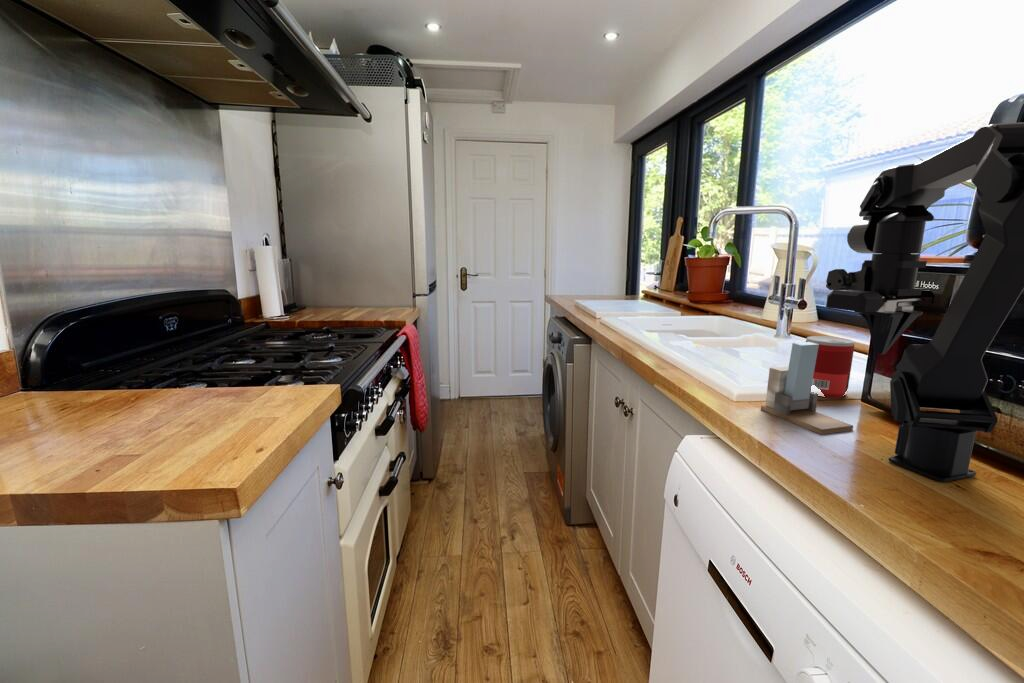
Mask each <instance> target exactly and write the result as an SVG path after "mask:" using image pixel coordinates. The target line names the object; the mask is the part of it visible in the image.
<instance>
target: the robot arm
mask: <svg viewBox="0 0 1024 683" xmlns="http://www.w3.org/2000/svg"><path fill="white" fill-rule="evenodd" d="M970 180H971V183H972V184H973V186H975V188H976V189H977V190H978V192H980V194H982V198H981V201H980V204H979V206H978V212H979V216H980V219H981V223H982V226H983V229H984V232H985V233H984V234H985V235H984V237H983V240H982V241H981V244H980V245H979V247H978V249H977V251H976V253H975V255H974V257H973V259H972V261H971V263H970V264H969V266H968V269H967V271H966V272H965V274H964V276H963V278H962V279H961V280H962V281H961V282H960V284H959V286H958V288H957V291H955V294H954V296H953V297H952V299H951V304H950V306H949V307H948V308H946V309H947V310H946V312H945V313H944V316H943V318H942V319H941V321H940V322H939V325H938V327H937V329H936V331H935V333H934V334H933V337H932V338H931V340H930V341H929V342H928V343H926V344H918V343H915V344H914V343H913V344H912V343H910V344H909V345H908V346H907V347H906V348H904V351H903V354H902V357H901V359H900V360H899V362H898V363H897V364H896V366H895V369H896V371H895V372H894V373H893V375H892V376H891V380H890V381H889V386H890V389H889V390H890V392H889V394H890V411H891V416H893V421H895V422H897V423H902V425H899V426H898V430H897V435H896V441H895V442H896V443H895V448H894V455H891V456H888V459H887V460H888V462H890V463H894V464H896V465H897V466H901V467H903V468H905V469H908V470H911V471H913V472H915V473H918V474H920V475H923V476H925V477H927V478H930V479H933V480H935V481H937V482H942V483H945V482H950V481H956V480H961V479H967V478H971V477H976V475H977V472H976V471H975V470H973V469H970V465H971V464H970V463H971V458H972V454H973V448H974V443H975V438H976V434H977V432H984V433H987V434H991V433H992V432H993V430H994V429H995V426H996V425H997V423H998V422H999V420H998V417H997V414H996V412H995V410H994V407H993V406H992V403H991V401H990V398H989V396H988V394H987V392H986V389H985V388H986V386H987V384H988V381H989V376H988V374H987V371H986V369H985V368H986V367H985V366H984V363H983V357H984V356H985V354H986V352H987V350H988V348H989V347H990V346H991V344H992V342H993V341H994V339H995V337H996V336H997V334H998V332H999V331H1000V328H1001V327H1002V325H1003V324H1004V322H1005V321H1006V320H1007V317H1008V316H1009V314H1010V313H1011V311H1012V309H1013V307H1014V306H1015V304H1016V303H1017V301H1018V299H1019V298H1020V296H1021V295H1022V293H1023V291H1024V122H1021V121H1020V122H1004V123H1003V122H1002V123H1000V122H999V123H991V124H989V125H986V126H983V127H980V128H979V129H978V130H976V131H975V133H974V134H973V135H971V136H969V137H967V138H966V139H964V140H962V141H959V142H958V143H955V144H954V145H952V146H950V147H947V148H946V149H944V150H942V151H940V152H939V153H936V154H934V155H932V156H930V157H929V158H927V159H925V160H922V161H921V162H916V163H910V164H909V163H908V164H903V165H895V166H891V167H887V168H885V169H884V170H883V171H881V173H880V174H879V175H878V176H877V177H876V178H875V179H874V181H873V184H872V185H871V186H870V188H869V190H868V192H867V193H866V195H865V196H864V199H863V200H862V202H861V203H860V205H859V209H860V211H859V214H858V216H859V217H861V218H862V220H861V221H858V222H857V223H854V225H853V226H852V227H851V228H850V229H849V231H848V232H847V237H846V241H847V244H848V246H849V248H850V250H853V251H854V252H856V253H859V254H872V255H871V259H866V260H865V259H864V261H863V263H861V269H860V270H858V271H849V272H847V270H845V268H835V269H832V270H829V271H828V272H827V277H826V281H825V282H826V284H825V286H826V287H825V288H827V289H828V290H829V291H831V292H830V293H829V294H827V296H826V304H825V308H828V309H836V310H843V311H850V312H854V313H857V314H858V315H860V316H861V317H862V318H863V319H864V320H865V322H866V326H867V328H868V331H869V335H870V338H871V341H872V345H873V346H872V347H873V351H874V353H875V354H878V355H885V354H887V352H888V351H889V350H890V348H891V347H892V346H893V345H894V344H895V342H896V341H898V339H899V338H900V337H901V335H902V334H904V332H905V331H906V329H907V328H909V327H910V325H911V324H912V323H913V322H914V321H915V320H916V319H917V317H919V316H922V315H923V311H920V310H914V307H915V305H912V304H919V303H918V302H919V301H925V299H924V298H921V297H932V301H931V304H934V297H935V295H934V293H933V292H932V291H930V290H922V289H923V288H922V287H921V288H917V287H916V284H917V283H916V282H917V277H918V270H919V269H925V268H926V267H927V263H928V261H927V260H920V258H921V253H922V246H923V241H924V235H925V229H926V223H927V222H932V221H933V220H934V219H935V217H934V215H933V213H931V211H929V210H928V209H929V208H930V207H931V206H932V205H933V204H935V203H936V202H938V201H940V200H942V199H943V198H944V197H945V195H946V194H945V193H946V190H947V189H950V188H952V187H955V186H956V185H960V184H962V183H965V182H967V181H970ZM923 409H933V410H923ZM938 410H944V411H938ZM945 410H946V411H945ZM947 410H948V411H947ZM949 411H950V412H949ZM953 411H954V412H953ZM955 411H959V412H955Z"/></svg>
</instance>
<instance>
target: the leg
mask: <svg viewBox="0 0 1024 683" xmlns="http://www.w3.org/2000/svg"><path fill="white" fill-rule="evenodd" d="M818 347H819V344H816V343H812V342H806V341H801V342H800V341H799V342H792V345H791V350H790V357H789V362H788V366H789V368H788V374H787V380H786V386H785V392H784V394H786V395H789V396H792V401H791V409H790V410H799V409H808V407H809V402H810V398H809V397H810V391H811V386H812V380H813V374H814V369H815V363H816V358H817V352H818Z"/></svg>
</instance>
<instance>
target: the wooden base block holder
mask: <svg viewBox="0 0 1024 683" xmlns="http://www.w3.org/2000/svg"><path fill="white" fill-rule="evenodd" d="M788 368H789V365H785V366H784V365H783V366H774V367H769V370H768V380H767V387H766V388H767V390H766V398H765V404H761V406H760V410H761V411H764V412H766V413H768V414H770V415H773V416H775V417H778V418H780V419H783V420H786V421H788V422H790V423H793V424H795V425H798V426H800V427H803V428H805V429H807V430H810V431H813V432H815V433H817V434H819V435H827V434H833V433H841V432H849V431H853V430H854V425H853V424H850V423H848V422H845V421H843V420H840V419H837V418H834V417H831V416H828V415H825V414H824V413H820V412H818V411H817V404H818V403H817V402H818V397H819V396H818V394H817V393H814V392H811V391H810V397H809V398H810V402H809V407H808V409H799V410H790V409H791V401H792V396H789V395H786V394H784V392H785V386H786V380H787V374H788Z"/></svg>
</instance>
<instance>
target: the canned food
mask: <svg viewBox="0 0 1024 683" xmlns="http://www.w3.org/2000/svg"><path fill="white" fill-rule="evenodd" d="M805 342H812V343H816V344H819V347H818V352H817V358H816V363H815V369H814V374H813V380H812V385H815V386H816V387H817V388H818V389H820V390H821V392H822V393H823V394H824V396H825V397H824V398H827V399H842V398H844V397H843V395H844V394H845V392H846V391H847V389H848V388H849V384H850V379H851V378H850V377H851V370H852V364H853V358H854V352H855V341H854V340H852V339H849V338H845V337H839V336H838V337H837V336H825V335H811V336H807V337H806V339H805ZM848 390H849V389H848ZM847 392H848V391H847Z"/></svg>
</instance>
